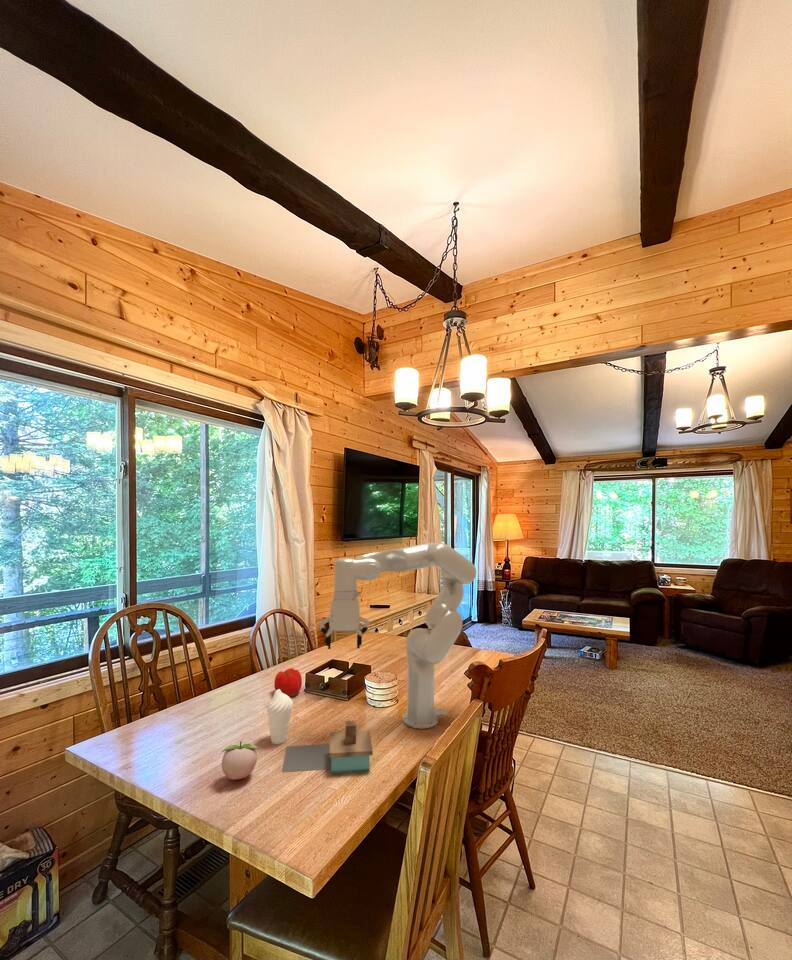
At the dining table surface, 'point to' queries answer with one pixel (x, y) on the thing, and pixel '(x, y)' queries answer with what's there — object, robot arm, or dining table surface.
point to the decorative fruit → (239, 760)
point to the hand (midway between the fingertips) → (343, 647)
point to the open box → (349, 764)
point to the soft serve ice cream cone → (279, 716)
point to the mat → (307, 758)
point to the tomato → (288, 681)
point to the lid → (350, 742)
